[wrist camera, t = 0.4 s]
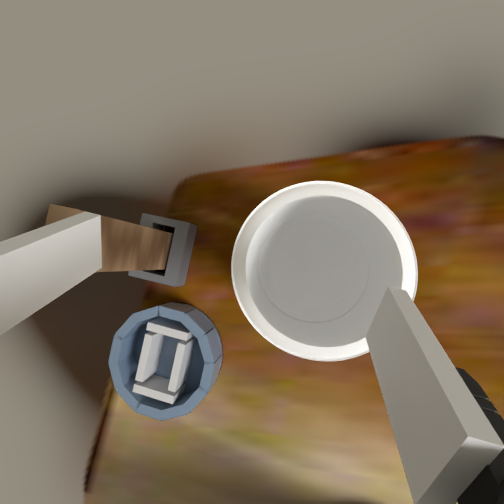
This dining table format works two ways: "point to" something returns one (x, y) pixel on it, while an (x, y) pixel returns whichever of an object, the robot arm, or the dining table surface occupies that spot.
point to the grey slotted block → (171, 251)
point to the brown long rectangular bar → (124, 242)
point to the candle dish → (166, 360)
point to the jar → (320, 268)
